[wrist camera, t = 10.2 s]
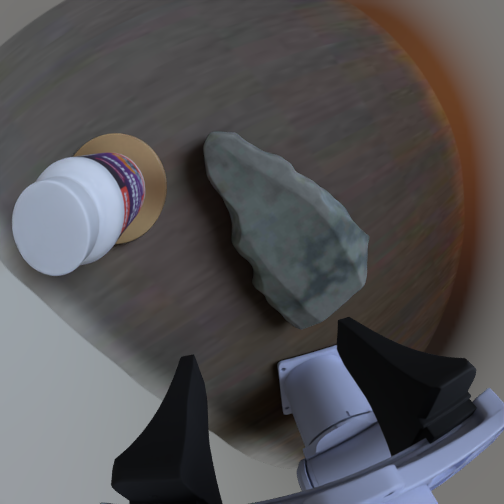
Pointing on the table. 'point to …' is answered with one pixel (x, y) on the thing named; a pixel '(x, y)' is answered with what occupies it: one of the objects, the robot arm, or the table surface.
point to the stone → (287, 230)
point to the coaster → (150, 172)
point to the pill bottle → (76, 211)
